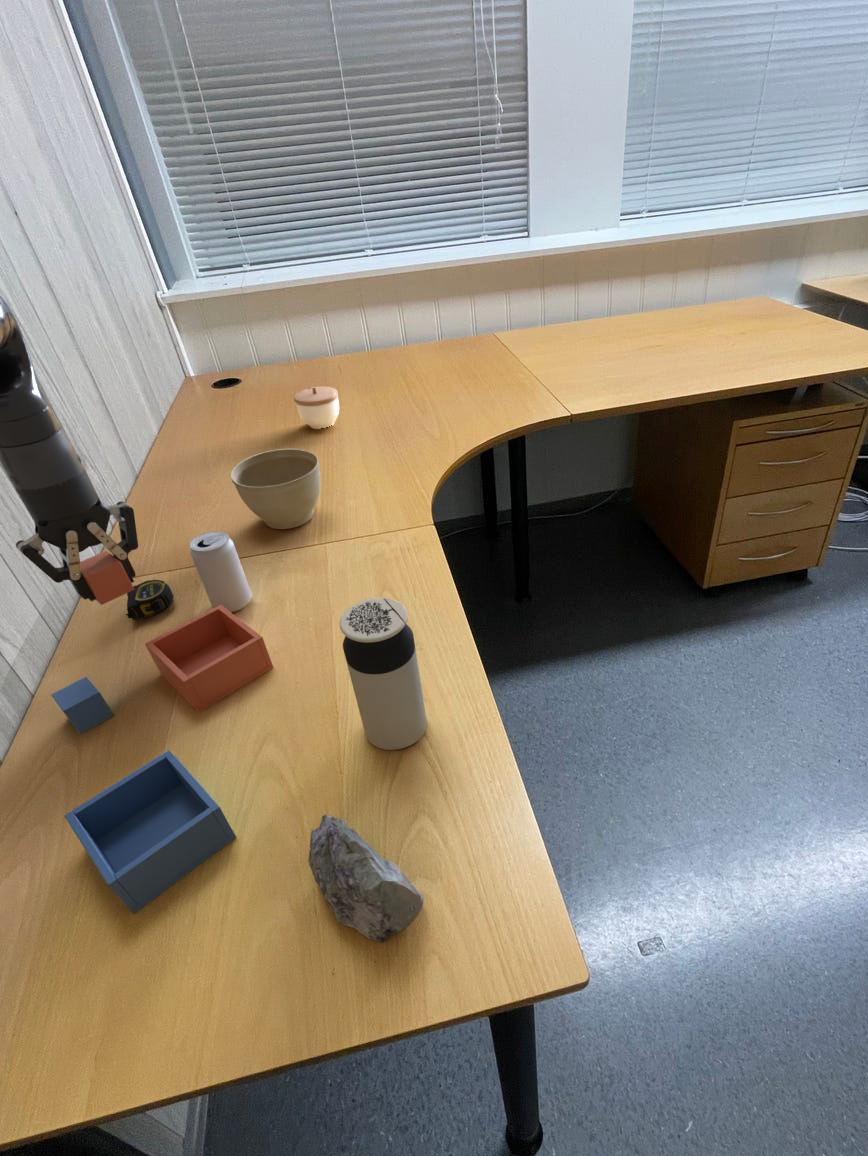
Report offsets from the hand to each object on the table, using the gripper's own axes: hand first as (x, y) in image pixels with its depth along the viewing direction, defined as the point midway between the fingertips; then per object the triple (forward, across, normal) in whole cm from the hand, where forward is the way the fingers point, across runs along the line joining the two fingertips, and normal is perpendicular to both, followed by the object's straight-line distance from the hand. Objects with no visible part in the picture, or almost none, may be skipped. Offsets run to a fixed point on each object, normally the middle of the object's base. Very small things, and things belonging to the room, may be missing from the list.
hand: (110, 589), depth 84 cm
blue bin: (+13, +13, +32) cm, 36 cm away
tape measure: (+13, -6, -11) cm, 18 cm away
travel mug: (+13, -15, +39) cm, 44 cm away
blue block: (+13, +10, +6) cm, 17 cm away
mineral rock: (+13, +1, +53) cm, 54 cm away
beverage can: (+13, -16, -2) cm, 20 cm away
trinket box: (+13, -71, -54) cm, 90 cm away
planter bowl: (+13, -38, -19) cm, 44 cm away
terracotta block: (0, 0, 0) cm, 0 cm away
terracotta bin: (+13, -6, +11) cm, 17 cm away
